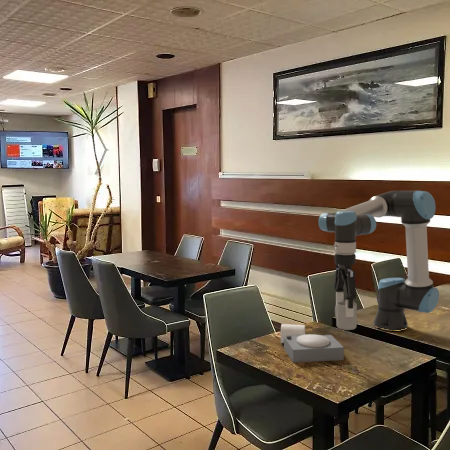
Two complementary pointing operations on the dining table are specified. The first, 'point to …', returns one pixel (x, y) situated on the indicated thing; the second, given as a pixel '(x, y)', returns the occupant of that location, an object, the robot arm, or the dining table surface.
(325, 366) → the dining table surface
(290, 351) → the square base with disc
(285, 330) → the white rounded block
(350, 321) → the cup
